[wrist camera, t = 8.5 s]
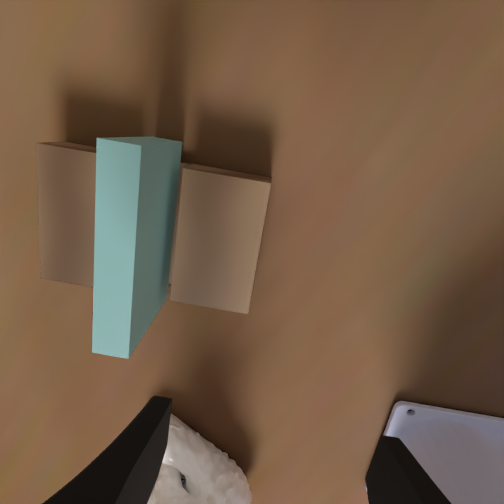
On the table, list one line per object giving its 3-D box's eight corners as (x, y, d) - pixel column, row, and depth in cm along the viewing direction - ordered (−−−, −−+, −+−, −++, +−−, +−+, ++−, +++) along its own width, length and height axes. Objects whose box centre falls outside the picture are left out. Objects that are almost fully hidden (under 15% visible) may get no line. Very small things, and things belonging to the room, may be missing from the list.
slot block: (271, 177, 19) (271, 183, 17) (250, 294, 21) (247, 314, 19) (65, 141, 19) (36, 142, 17) (66, 262, 21) (40, 278, 19)
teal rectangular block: (182, 141, 18) (141, 145, 13) (167, 298, 21) (128, 358, 15) (151, 136, 18) (96, 137, 12) (140, 293, 21) (92, 352, 15)
